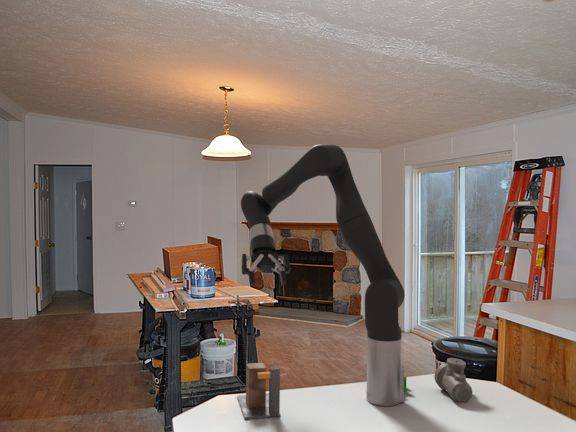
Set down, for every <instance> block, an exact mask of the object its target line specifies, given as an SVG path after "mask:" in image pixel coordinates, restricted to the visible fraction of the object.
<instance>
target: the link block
mask: <svg viewBox="0 0 576 432" xmlns="http://www.w3.org/2000/svg"><path fill="white" fill-rule="evenodd" d="M245 365H246V367H245V395H246V403H247V405H248V407H260V406H266V394H267V378H264V379H258V372H267V367H266V365H265V363H263V362H253V363H252V362H251V363H246V364H245Z"/></svg>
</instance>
